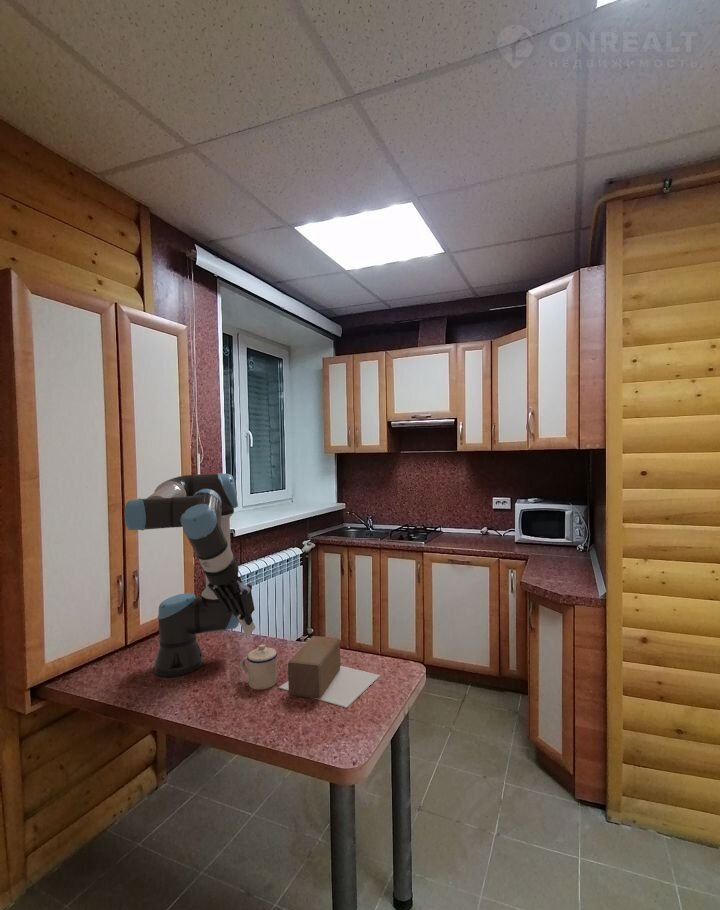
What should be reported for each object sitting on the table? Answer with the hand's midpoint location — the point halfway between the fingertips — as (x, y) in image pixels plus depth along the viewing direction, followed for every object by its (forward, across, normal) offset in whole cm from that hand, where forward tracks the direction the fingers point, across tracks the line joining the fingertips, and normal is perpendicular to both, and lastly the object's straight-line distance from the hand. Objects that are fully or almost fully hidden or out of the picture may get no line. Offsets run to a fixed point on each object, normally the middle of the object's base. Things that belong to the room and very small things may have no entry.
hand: (250, 630), depth 122 cm
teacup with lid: (+29, -11, +3) cm, 31 cm away
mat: (+33, +10, +11) cm, 36 cm away
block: (+23, +7, +3) cm, 24 cm away
